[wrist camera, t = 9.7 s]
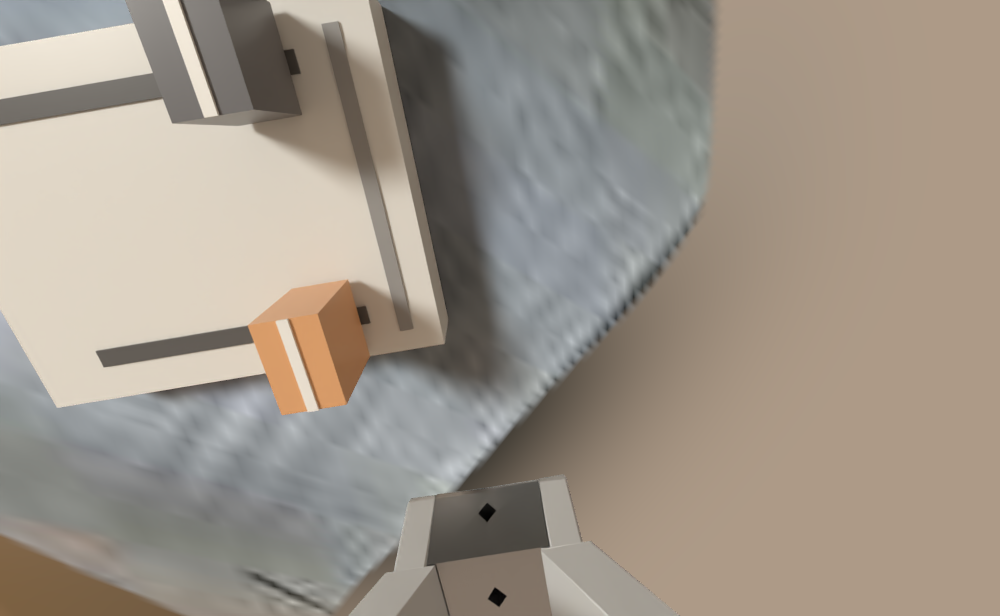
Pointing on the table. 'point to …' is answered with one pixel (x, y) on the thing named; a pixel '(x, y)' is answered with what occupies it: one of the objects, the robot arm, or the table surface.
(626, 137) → the table surface
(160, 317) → the mixer console
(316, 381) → the fader
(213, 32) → the fader
